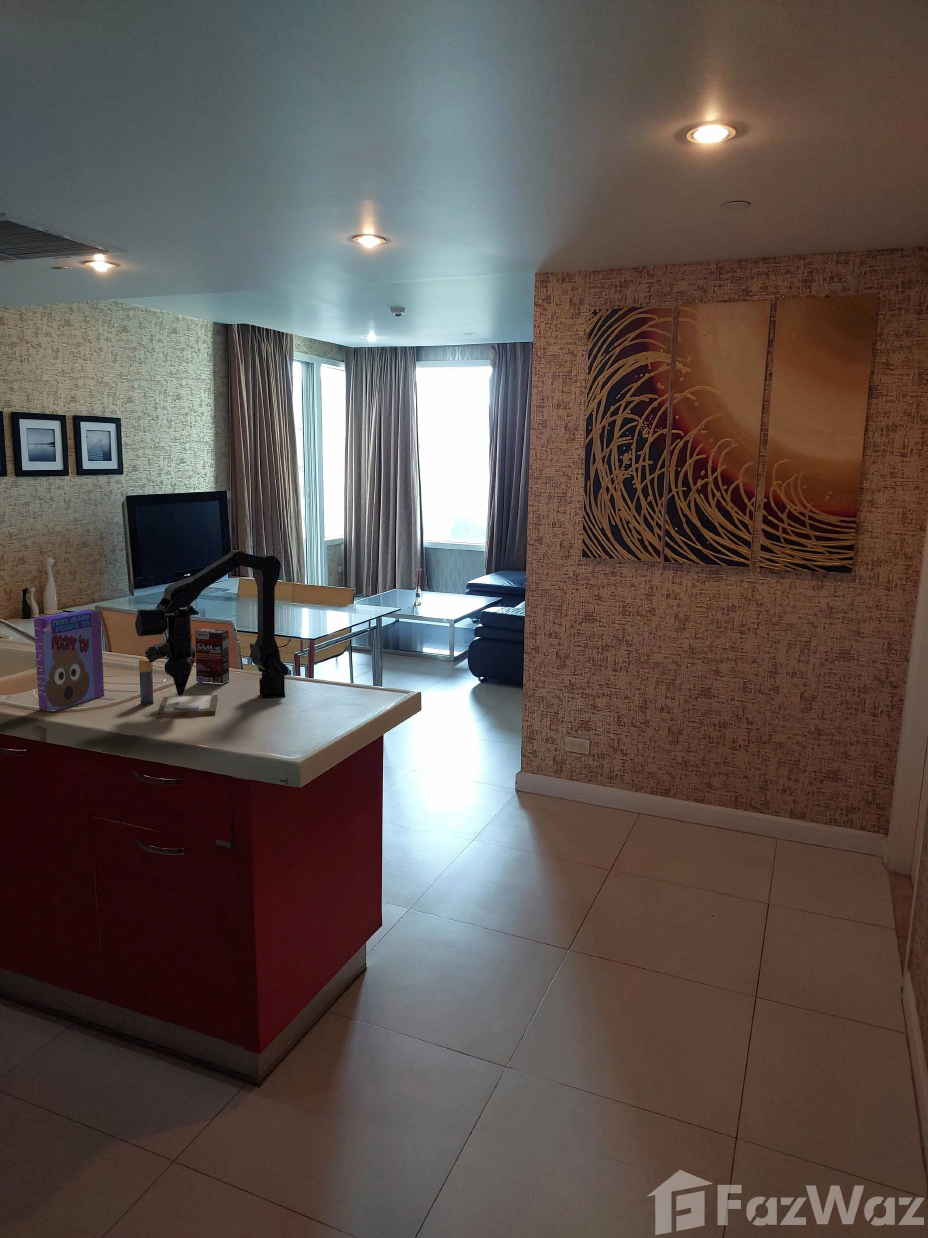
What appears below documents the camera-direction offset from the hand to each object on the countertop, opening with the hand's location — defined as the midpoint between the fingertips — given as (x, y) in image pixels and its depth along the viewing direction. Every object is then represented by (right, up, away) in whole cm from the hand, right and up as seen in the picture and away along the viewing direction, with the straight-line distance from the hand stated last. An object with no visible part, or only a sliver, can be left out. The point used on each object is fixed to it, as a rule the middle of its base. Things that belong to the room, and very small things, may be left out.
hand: (181, 691), depth 210 cm
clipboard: (+1, -5, +1) cm, 5 cm away
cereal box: (-30, -4, +3) cm, 31 cm away
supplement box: (-1, 0, +28) cm, 28 cm away
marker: (-11, -4, +4) cm, 12 cm away
